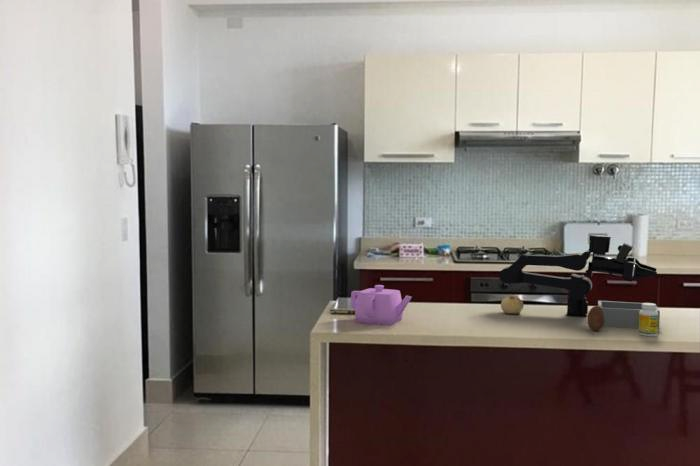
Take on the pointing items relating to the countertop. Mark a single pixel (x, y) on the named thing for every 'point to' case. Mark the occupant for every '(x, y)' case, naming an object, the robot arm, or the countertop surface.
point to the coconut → (596, 318)
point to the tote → (622, 314)
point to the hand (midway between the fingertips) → (656, 271)
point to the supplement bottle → (648, 320)
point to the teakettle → (378, 305)
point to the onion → (512, 304)
